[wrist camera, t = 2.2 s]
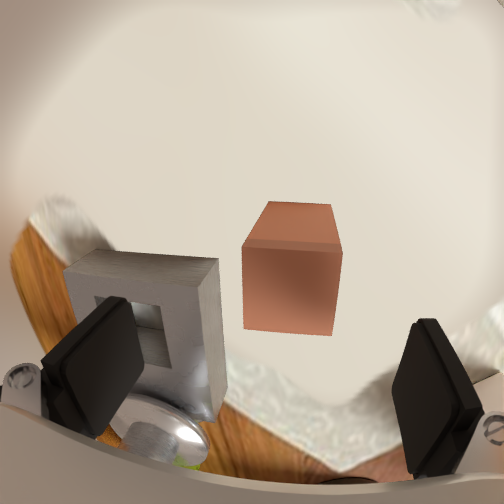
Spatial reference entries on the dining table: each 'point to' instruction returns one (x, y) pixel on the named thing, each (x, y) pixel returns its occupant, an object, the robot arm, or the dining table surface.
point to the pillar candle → (348, 481)
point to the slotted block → (163, 348)
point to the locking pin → (292, 270)
